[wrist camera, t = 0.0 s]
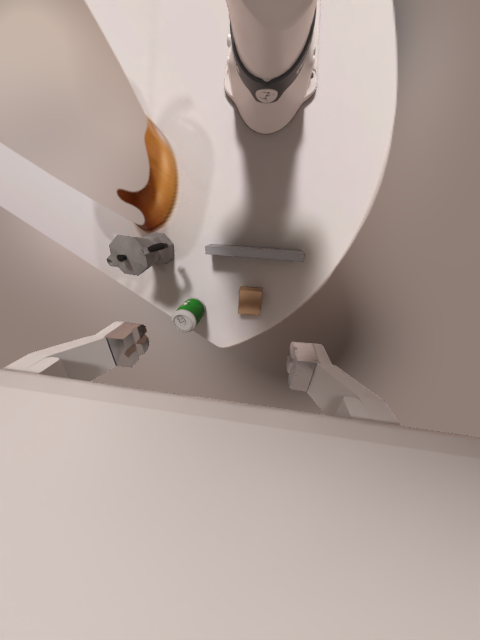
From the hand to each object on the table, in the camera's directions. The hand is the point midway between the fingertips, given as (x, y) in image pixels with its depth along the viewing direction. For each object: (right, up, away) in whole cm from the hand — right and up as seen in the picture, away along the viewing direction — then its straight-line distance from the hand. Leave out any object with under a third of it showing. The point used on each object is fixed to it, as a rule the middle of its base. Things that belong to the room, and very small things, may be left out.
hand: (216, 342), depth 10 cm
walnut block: (+5, +8, +50) cm, 51 cm away
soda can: (-14, +6, +54) cm, 56 cm away
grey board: (+6, +21, +43) cm, 48 cm away
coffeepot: (-22, +24, +45) cm, 56 cm away
